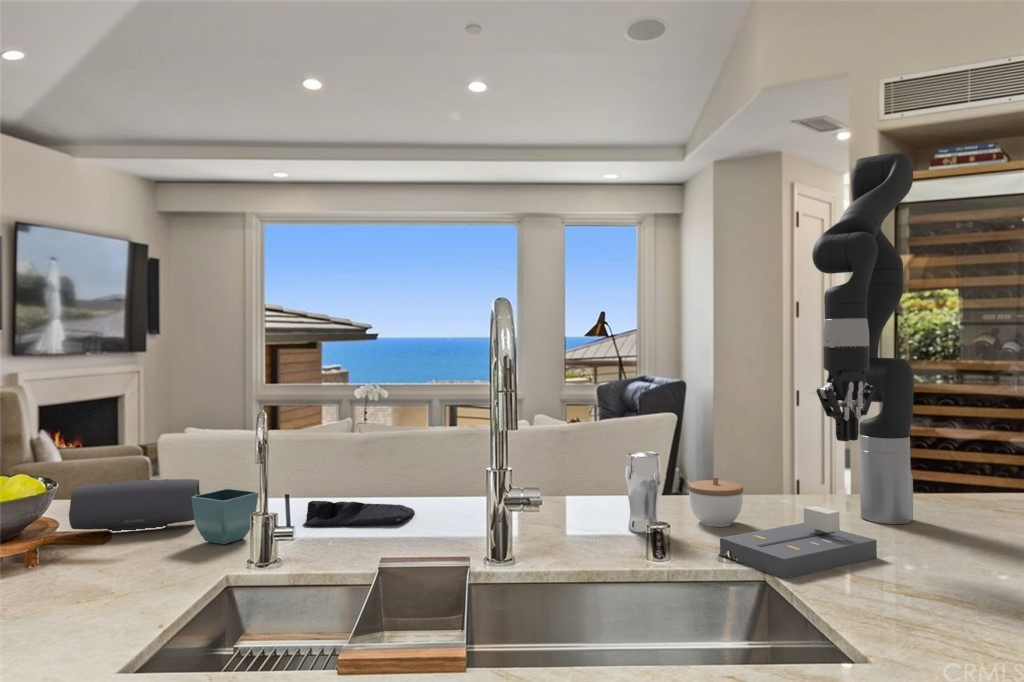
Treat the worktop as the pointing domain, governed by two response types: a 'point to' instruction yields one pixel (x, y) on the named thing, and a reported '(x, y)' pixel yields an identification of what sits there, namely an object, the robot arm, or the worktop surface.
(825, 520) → the fader knob
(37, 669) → the worktop surface
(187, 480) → the bluetooth speaker
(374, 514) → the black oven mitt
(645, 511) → the beer glass
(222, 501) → the flower pot
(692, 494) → the lidded jar
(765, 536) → the panel
